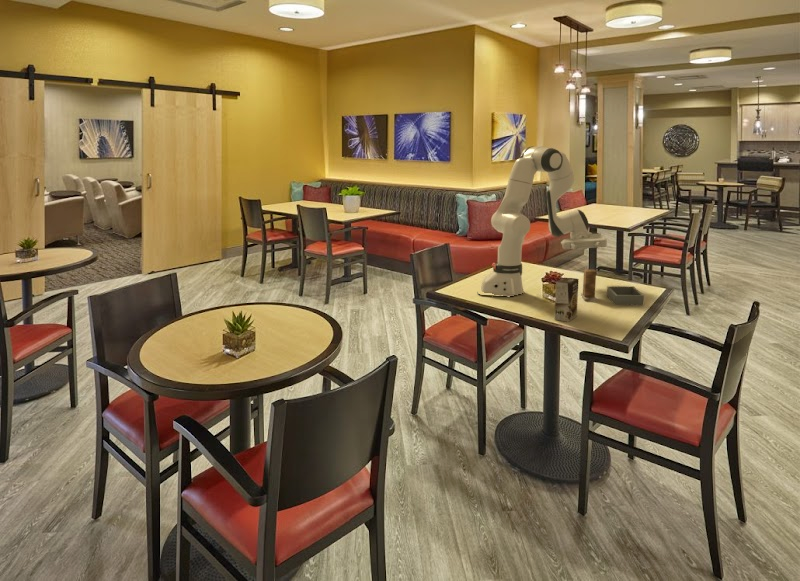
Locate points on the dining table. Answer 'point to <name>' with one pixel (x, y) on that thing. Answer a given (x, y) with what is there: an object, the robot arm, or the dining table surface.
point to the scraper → (589, 285)
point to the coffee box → (566, 299)
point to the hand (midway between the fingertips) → (586, 246)
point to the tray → (625, 295)
